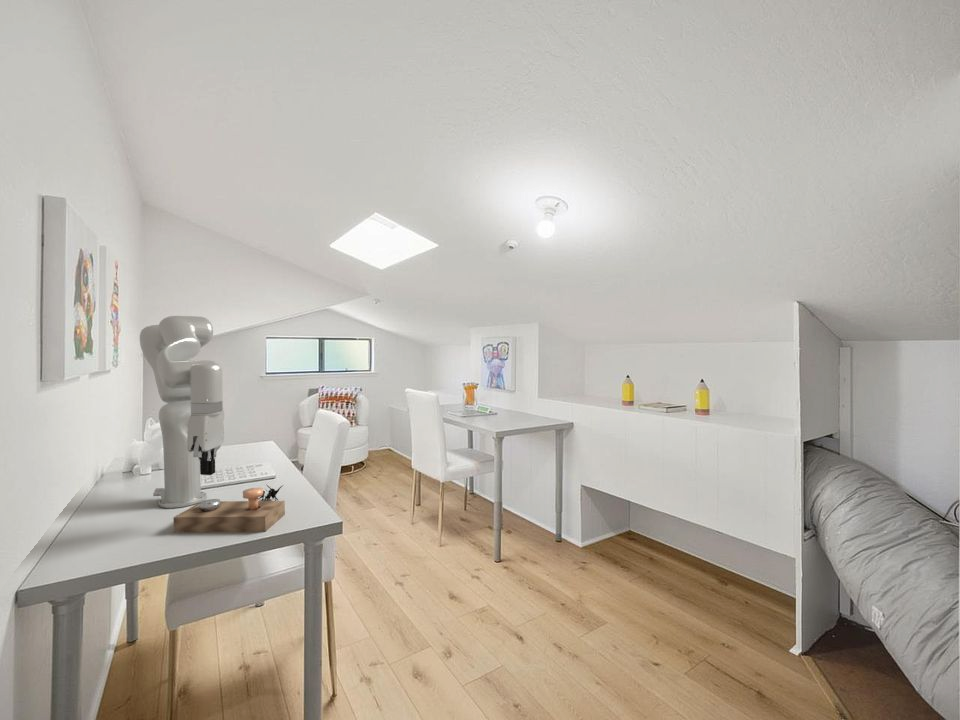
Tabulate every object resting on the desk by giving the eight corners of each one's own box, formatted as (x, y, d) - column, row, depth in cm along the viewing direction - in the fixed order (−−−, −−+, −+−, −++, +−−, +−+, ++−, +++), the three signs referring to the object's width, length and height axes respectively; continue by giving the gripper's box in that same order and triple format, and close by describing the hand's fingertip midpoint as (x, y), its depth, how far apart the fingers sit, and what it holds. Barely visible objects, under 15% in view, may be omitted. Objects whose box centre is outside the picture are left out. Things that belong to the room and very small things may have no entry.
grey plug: (195, 525, 123) (194, 505, 123) (206, 517, 128) (205, 499, 128) (214, 524, 123) (213, 505, 123) (224, 517, 128) (223, 498, 128)
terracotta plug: (239, 513, 123) (239, 493, 123) (249, 506, 128) (248, 487, 128) (258, 513, 123) (257, 493, 123) (266, 506, 128) (266, 487, 128)
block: (173, 532, 119) (173, 517, 119) (201, 515, 131) (201, 501, 131) (265, 531, 120) (265, 516, 119) (284, 514, 132) (284, 500, 131)
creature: (273, 510, 138) (288, 496, 145) (270, 495, 137) (285, 481, 144) (250, 509, 139) (266, 495, 147) (246, 493, 138) (263, 480, 146)
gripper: (209, 403, 132) (210, 465, 133) (174, 412, 117) (176, 482, 118) (235, 404, 132) (235, 466, 133) (204, 413, 117) (205, 483, 118)
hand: (207, 473), depth 126 cm, fingers closed
